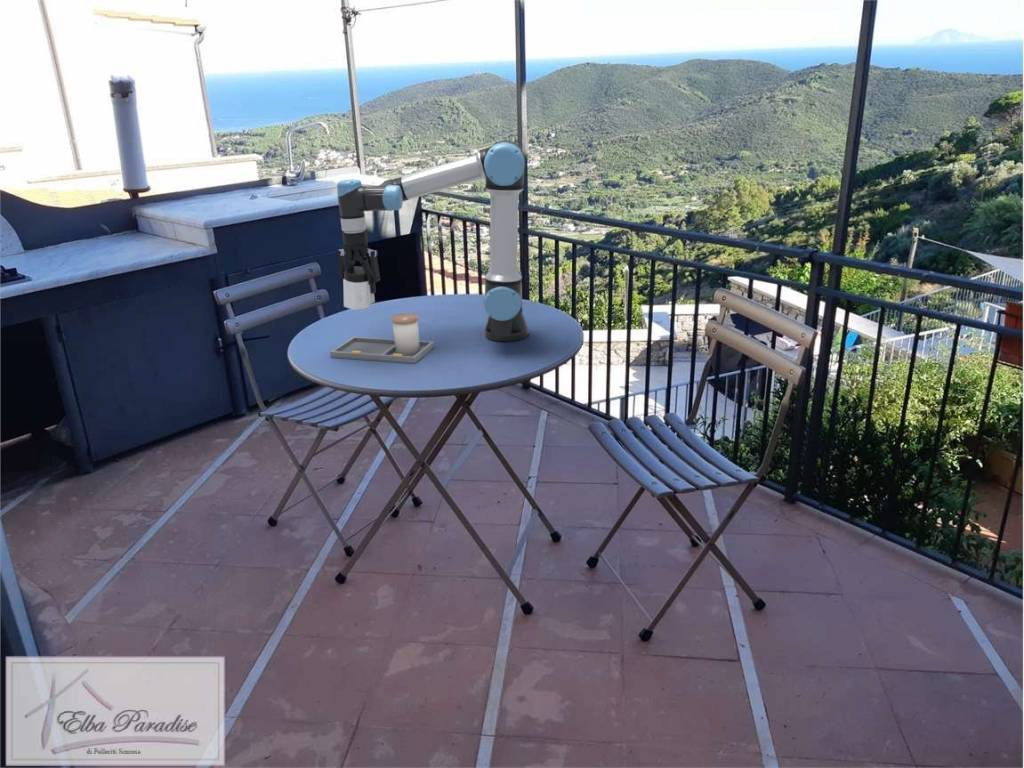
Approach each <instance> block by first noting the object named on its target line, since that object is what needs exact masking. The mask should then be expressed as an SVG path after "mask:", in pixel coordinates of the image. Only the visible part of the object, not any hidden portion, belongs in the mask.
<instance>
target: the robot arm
mask: <svg viewBox="0 0 1024 768" xmlns="http://www.w3.org/2000/svg"><path fill="white" fill-rule="evenodd" d="M525 161H526V158H525V154H524V151H523V149H522V148H521V146H520V145H519V144H518V143H516V142H515V141H513V140H505V139H504V140H500V141H498V142H496V143H494V144H493V145H490V146H488V147H485V148H481V149H479V150H477V153H475V154H474V155H470V156H467V157H464V158H460V159H456V160H454V161H449V162H446V163H443V164H440V165H437V166H432V167H430V168H426V169H423V170H419V171H417V172H414V173H409V174H407V175H402V176H400V177H396V178H389V179H387V180H384V181H383V182H381V184H379V185H372V186H371V185H370V186H369V185H368V186H367V185H363V184H362V181H361V180H360V179H353V178H352V179H343V180H340V181H338V182H337V184H336V191H337V197H336V198H337V201H338V207H339V208H338V210H339V216H340V224H341V231H342V241H343V244H344V245H343V248H341V249H337V250H336V251H335V252H336V255H337V261H338V274H339V281H341V282H343V280H344V269H346V268H347V270H352V269H353V268H354V266H355V263H356V261H358V262H359V264H360V265H361V267H363V269H364V272H365V273H366V277H367V279H368V282H369V283H368V284H367V291H368V300H369V304H370V305H372V304H373V303H375V302H376V300H375V293H376V291H377V287H376V283H377V282H379V281H381V275H380V268H379V263H378V254H379V253H378V250H377V249H375V250H374V249H371V248H370V247H369V245H368V242H369V241H368V240H369V239H368V232H367V231H366V229H367V224H366V216H365V215H366V214H365V212H380V211H381V212H383V211H384V212H386V211H389V212H392V211H399V210H401V209H402V207H403V202H406V201H409V200H412V199H415V198H419V197H423V196H426V195H430V194H433V193H437V192H440V191H444V190H447V189H450V188H455V187H458V186H462V185H465V184H468V183H472V182H475V181H479V180H485V190H486V191H487V192H488V194H489V195H490V201H489V202H490V204H489V205H490V206H489V207H490V209H489V210H490V211H489V212H490V216H489V220H490V223H489V229H490V230H489V270H488V271H487V273H486V274H485V276H484V277H485V278H484V297H483V307H484V310H485V312H486V313H487V316H488V318H487V321H486V323H485V327H484V338H486V339H487V338H488V339H487V340H489V339H490V340H489V341H493V340H494V342H501V341H507V342H515V341H514V340H516V341H520V340H523V339H525V338H527V337H528V336H529V326H528V323H527V321H526V318H525V316H524V315H525V314H524V312H523V311H524V309H523V285H522V284H523V283H522V282H523V281H522V279H523V276H522V272H521V270H520V269H518V242H519V241H518V238H519V237H518V236H519V235H518V233H519V196H520V194H521V192H522V191H524V188H525V187H524V185H525V184H524V182H525V168H526V167H525ZM346 256H347V260H346ZM368 256H369V257H368ZM369 261H370V262H369ZM346 262H347V263H346ZM527 335H528V336H527ZM526 336H527V337H526ZM524 337H525V338H524ZM522 338H523V339H522ZM519 339H520V340H519Z"/></svg>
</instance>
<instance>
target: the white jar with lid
mask: <svg viewBox="0 0 1024 768" xmlns="http://www.w3.org/2000/svg"><path fill="white" fill-rule="evenodd" d="M418 321H419V315H418V314H417V313H414V312H402V313H397V314H394V315H392V316H391V322H392V328H393V329H392V330H393V339H394V341H395V351H396V354H403V356H414V355H416V354H417V353H418V352H419V351H420V342H419V341H420V333H419V322H418Z"/></svg>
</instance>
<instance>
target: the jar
mask: <svg viewBox="0 0 1024 768" xmlns="http://www.w3.org/2000/svg"><path fill="white" fill-rule="evenodd" d="M342 282H343V283H342V284H343V307H345V308H346V309H350V310H353V311H359V310H360V311H361V310H366V309H367V310H368V309H369V307H370V305H371V304H369V300H368V291H367V284H368V283H369V282H368V279H367V277H366V273H365V272H364V269H363V267H362V266H359V265H358V266H357V265H356V266H355V265H354V268H353V269H352V270H347V267H346V269H344V280H343V281H342Z"/></svg>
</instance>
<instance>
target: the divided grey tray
mask: <svg viewBox="0 0 1024 768" xmlns="http://www.w3.org/2000/svg"><path fill="white" fill-rule="evenodd" d="M419 342H420V351H419V352H418V353H417V354H416V355H414V356H403V354H396V351H395V341H394V338H382V337H381V338H378V337H363V336H352V337H351V338H349V339H348V340H346V341H345V342H343V343H342V344H339V346H337V347H335V348H333V349H332V350H330V351H329V355H330V358H331V357H332V358H331V359H333V358H334V359H342V358H344V360H345V359H346V360H358V361H359V360H360V361H369V362H370V361H373V362H385V363H397V364H398V363H400V364H411V365H412V364H413V365H415V364H417V363H418V362H419V361H420V360H421V359H423V358H424V357H425V356H427V355H428V354H429V353H430V352H431V351H433V350H434V349H435V341H429V340H419Z"/></svg>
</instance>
